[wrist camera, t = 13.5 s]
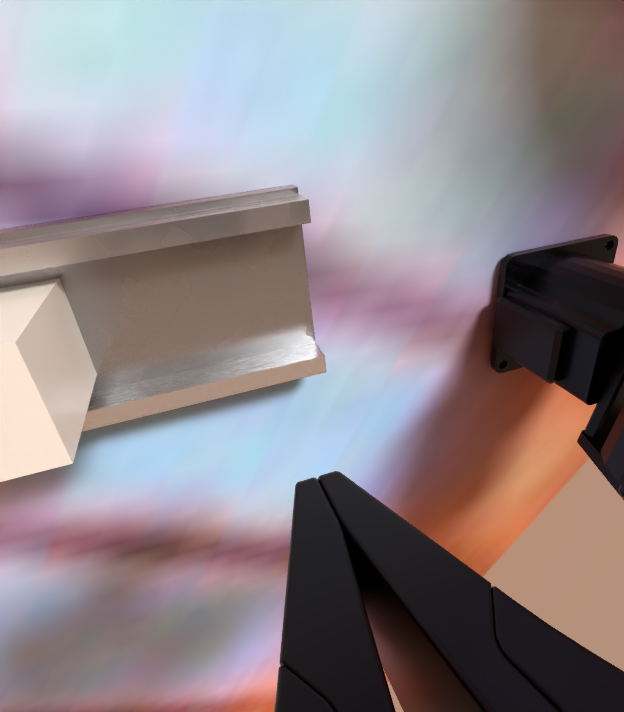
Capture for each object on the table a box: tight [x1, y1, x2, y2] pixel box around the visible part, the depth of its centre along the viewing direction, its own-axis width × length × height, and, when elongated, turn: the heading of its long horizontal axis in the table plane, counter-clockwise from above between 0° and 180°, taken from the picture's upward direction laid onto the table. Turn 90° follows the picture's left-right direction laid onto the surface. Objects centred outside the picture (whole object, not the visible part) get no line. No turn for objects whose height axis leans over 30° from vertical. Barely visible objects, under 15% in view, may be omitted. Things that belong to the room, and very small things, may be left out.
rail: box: [0, 185, 326, 432], centre depth 14 cm, size 20×8×7 cm, turn 96°
